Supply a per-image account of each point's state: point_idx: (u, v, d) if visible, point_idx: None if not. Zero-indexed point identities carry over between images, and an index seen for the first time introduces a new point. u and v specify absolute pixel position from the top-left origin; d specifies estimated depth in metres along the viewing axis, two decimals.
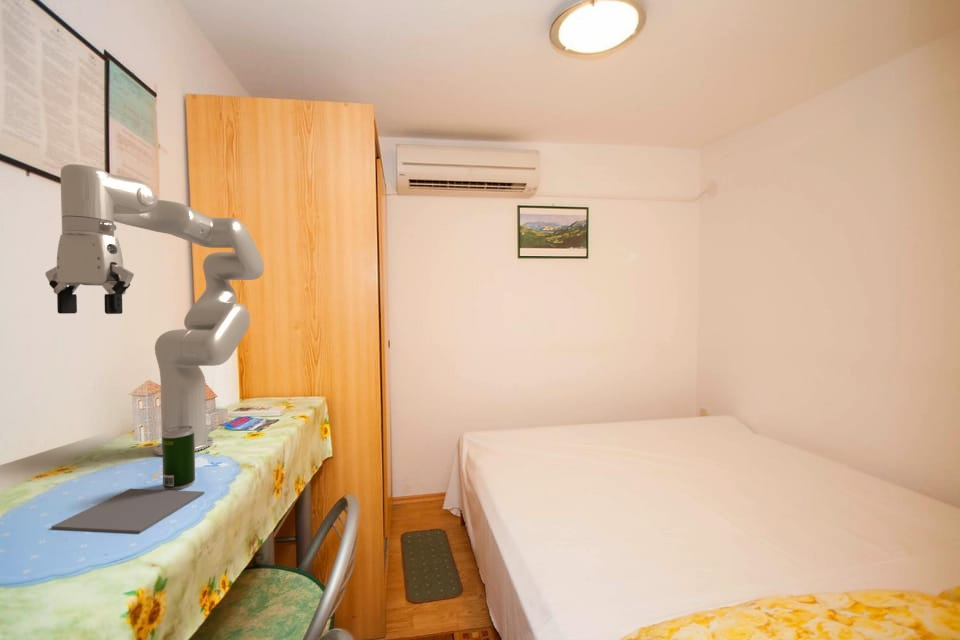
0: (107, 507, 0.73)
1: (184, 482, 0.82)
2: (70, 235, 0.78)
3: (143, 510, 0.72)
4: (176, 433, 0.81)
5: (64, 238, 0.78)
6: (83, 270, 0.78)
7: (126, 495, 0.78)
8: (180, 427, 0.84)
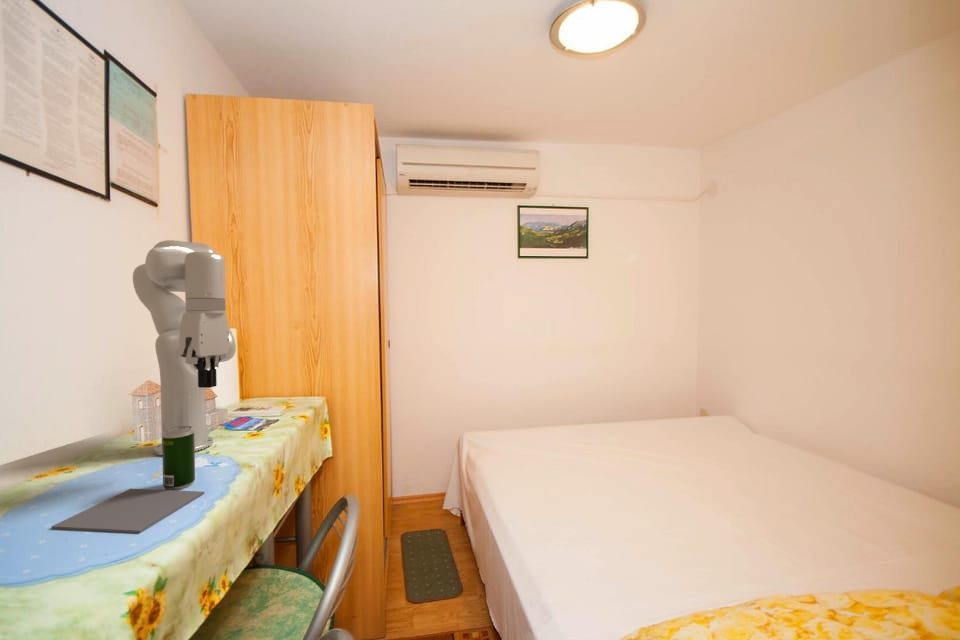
0: (107, 507, 0.73)
1: (184, 482, 0.82)
2: (212, 314, 0.89)
3: (143, 510, 0.72)
4: (176, 433, 0.81)
5: (207, 316, 0.87)
6: (219, 343, 0.91)
7: (126, 495, 0.78)
8: (180, 427, 0.84)
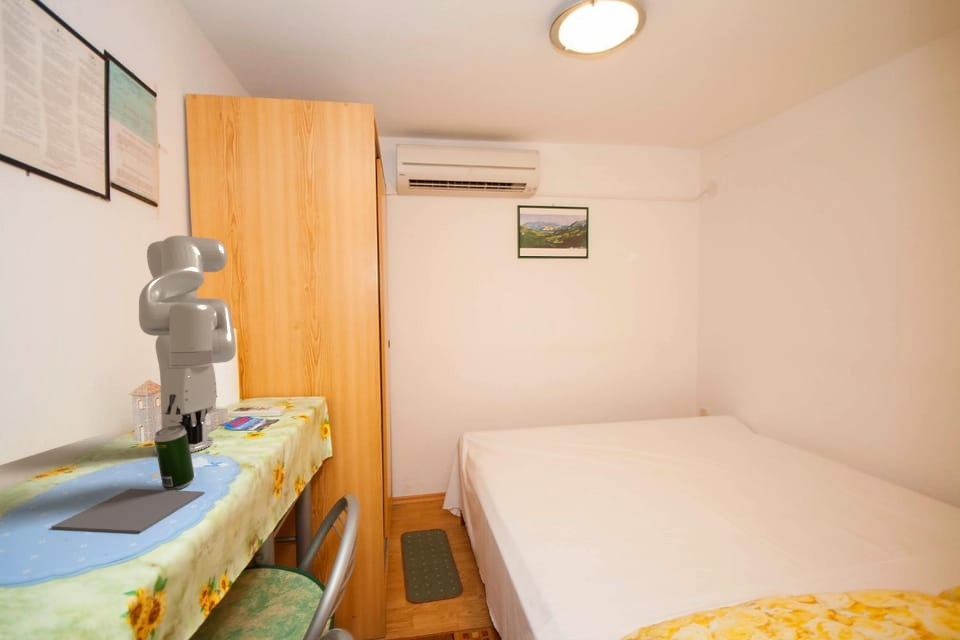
0: (107, 507, 0.73)
1: (183, 481, 0.81)
2: (198, 367, 0.85)
3: (143, 510, 0.72)
4: (168, 436, 0.79)
5: (192, 371, 0.83)
6: (206, 397, 0.87)
7: (126, 495, 0.78)
8: (172, 427, 0.82)
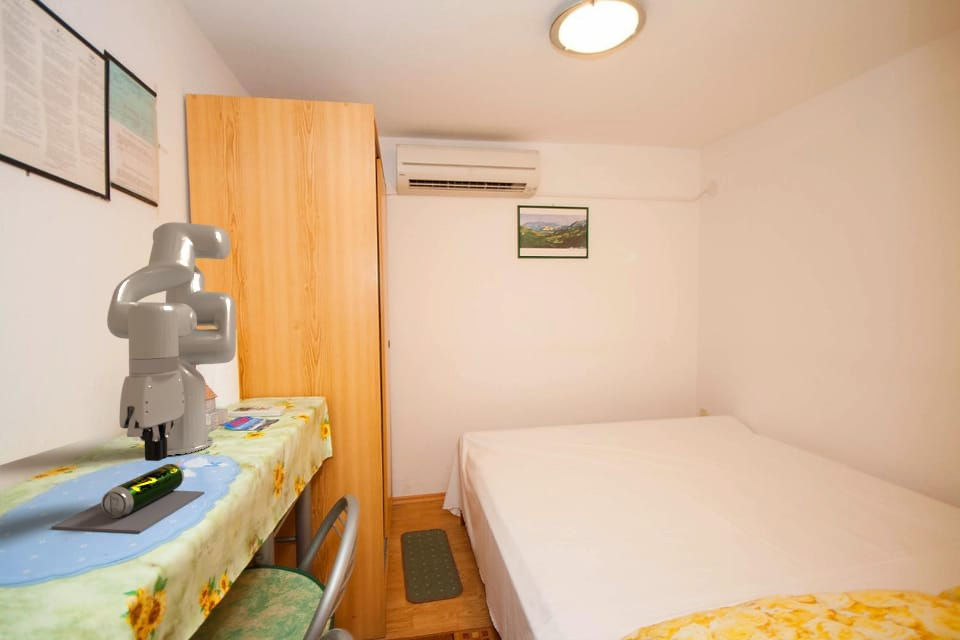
0: None
1: (176, 487, 0.79)
2: (161, 376, 0.76)
3: (143, 510, 0.72)
4: None
5: (154, 380, 0.74)
6: (171, 408, 0.78)
7: None
8: (111, 494, 0.69)
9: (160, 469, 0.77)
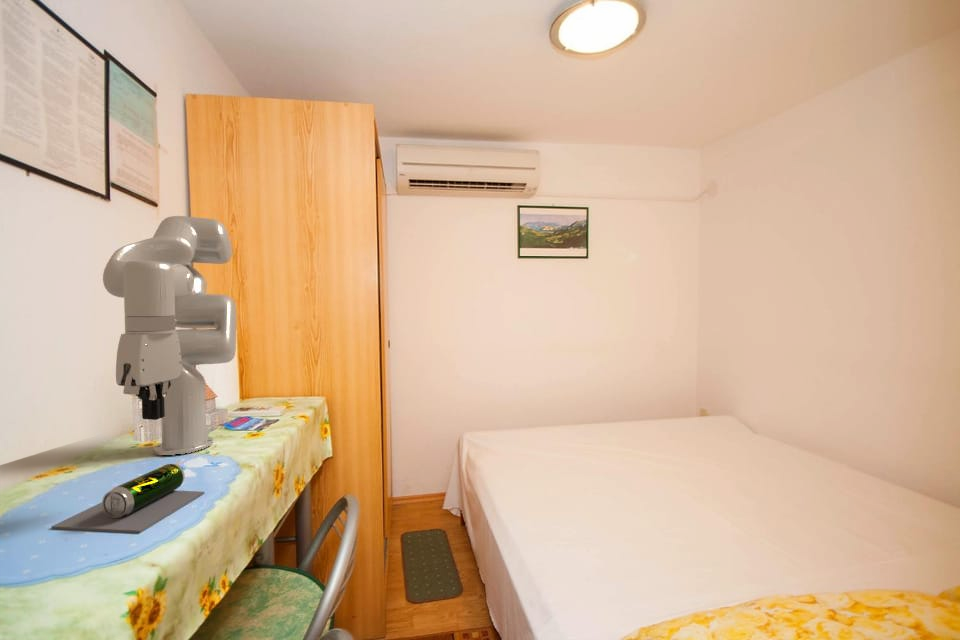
0: None
1: (177, 487, 0.79)
2: (158, 334, 0.75)
3: (143, 510, 0.72)
4: None
5: (150, 338, 0.74)
6: (168, 368, 0.78)
7: None
8: (112, 494, 0.69)
9: (161, 469, 0.77)
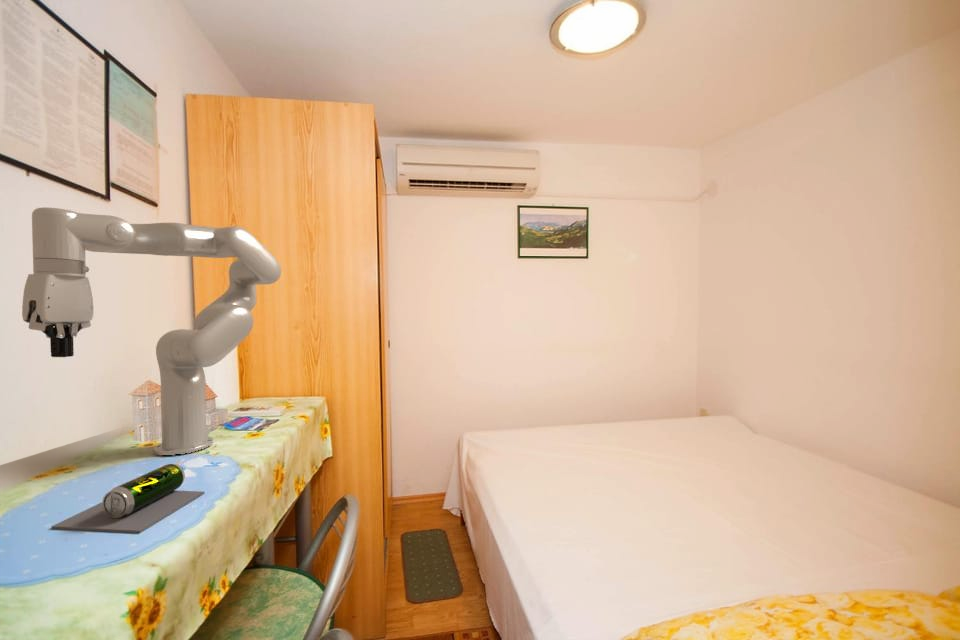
0: None
1: None
2: (65, 276, 0.81)
3: (143, 510, 0.72)
4: (119, 517, 0.69)
5: (57, 279, 0.80)
6: (77, 310, 0.84)
7: None
8: (113, 494, 0.69)
9: (162, 469, 0.77)
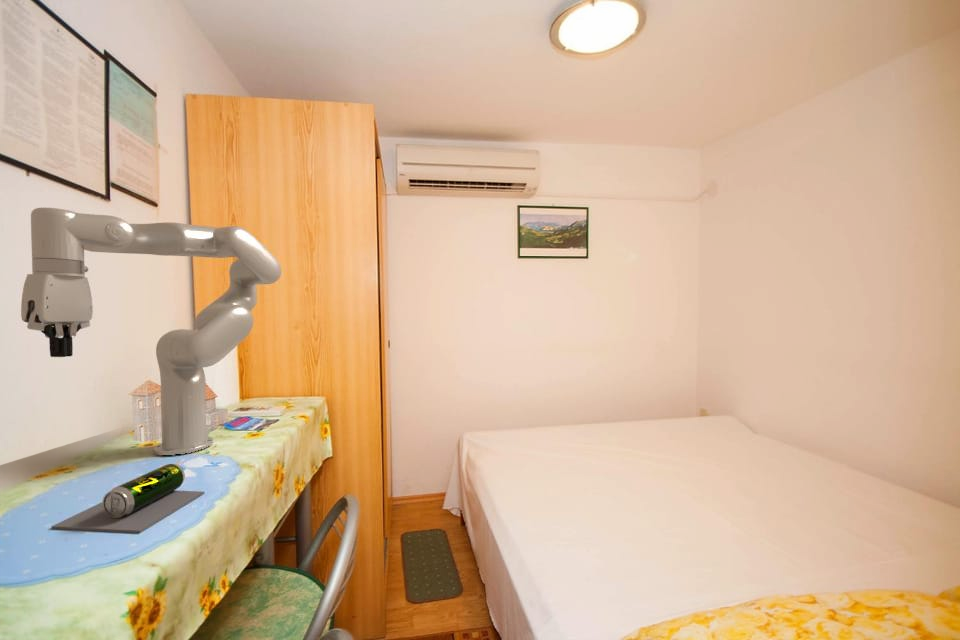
0: None
1: None
2: (64, 276, 0.81)
3: (143, 510, 0.72)
4: (119, 517, 0.69)
5: (55, 279, 0.80)
6: (76, 309, 0.84)
7: None
8: (113, 494, 0.69)
9: (162, 469, 0.77)
